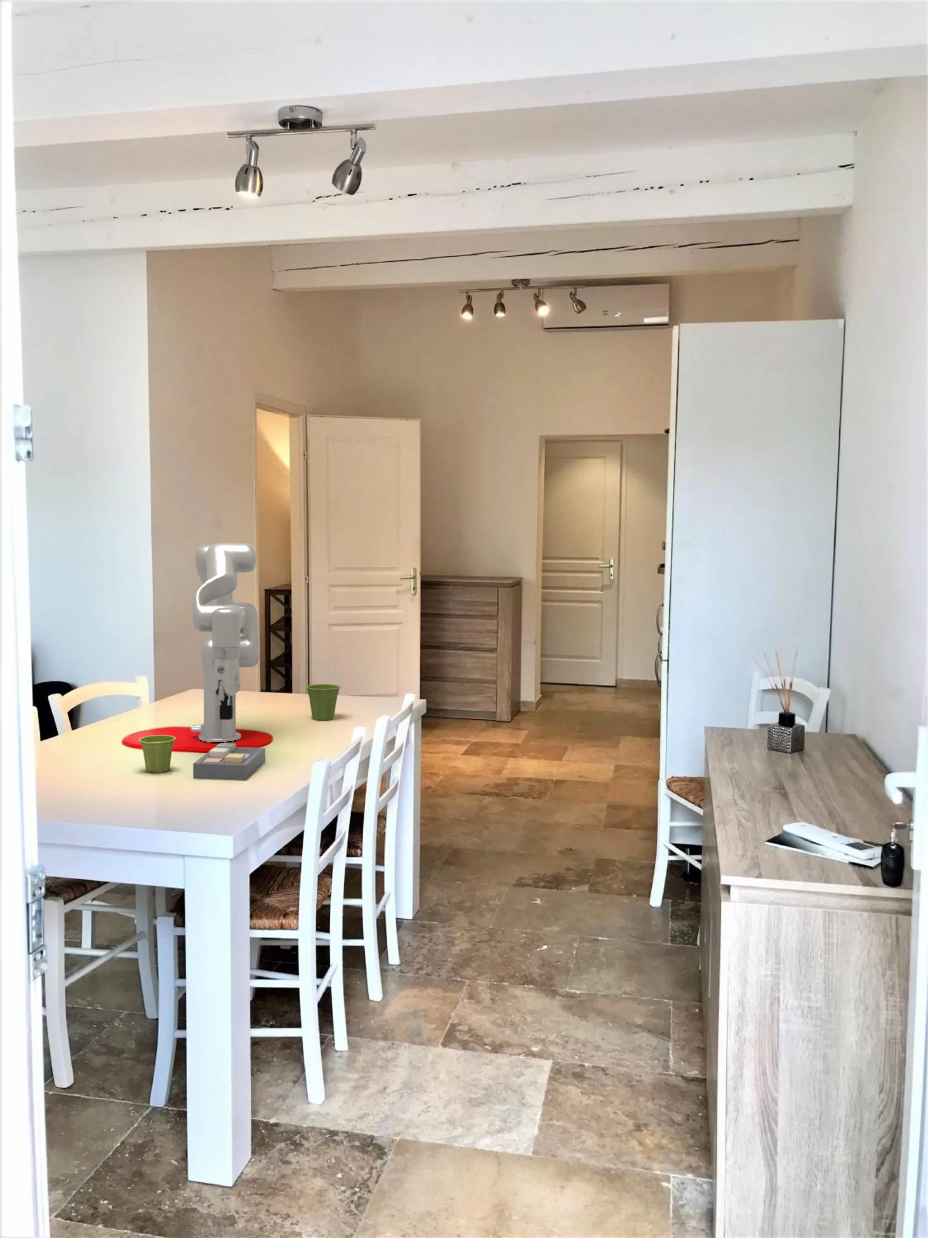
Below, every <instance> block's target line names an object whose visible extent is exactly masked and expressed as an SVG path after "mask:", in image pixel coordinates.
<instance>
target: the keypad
mask: <svg viewBox="0 0 928 1238" xmlns="http://www.w3.org/2000/svg"><path fill="white" fill-rule="evenodd" d="M214 748H216V746H215V747H214ZM230 753H231V754H251V756H250V757H249V758H245V761H244V762H243V763H242V764H236V763H225V758H224V757H210V750H209V751H208V752H207V753H205V754H204V755H203V756H201V757H200V758H198V759H197V760H195V761H194V762H193V763H192V768H193V769H192V772H193V773H192V778H193V779H196V778H198V779H199V780H225V781H226V780H227V781H229V780H230V781H247V780H248V779H249V778H251V776H252V775H254V773H256V772H257V771H258V768H259V769H260V768H261V767H262V766H263V765H264V764H265V763H266V747H248V746H247V747H245V746H244V747H243V746H242V747H239V746H236V750H235V751H234V752H229V754H230ZM207 758H222V759H223V760H222V761H221V762H220V763H208V762H203V761H204V760H205V759H207Z"/></svg>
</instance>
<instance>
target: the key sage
mask: <svg viewBox="0 0 928 1238" xmlns="http://www.w3.org/2000/svg"><path fill="white" fill-rule="evenodd" d="M215 747H216V748H229V752H234V751H235V750H236V747H237V746H236V742H234V743H233V742H224V743H219V744H217V745H215Z"/></svg>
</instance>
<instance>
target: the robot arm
mask: <svg viewBox="0 0 928 1238" xmlns="http://www.w3.org/2000/svg"><path fill="white" fill-rule="evenodd" d="M255 550H256V549H255V547H254V546H253V545H252V544H250V543H247V542H245V543H243V542H240V543H239V542H217V543H214V544H206V545H201V546H199V547H198V548H197V549H196V550H195V552H194V553H195V554H194V558H195V559H194V561H195V566H196V567H195V568H196V572H197V575H198V577H199V580H200V582H201V584H200V586H199V587H198V588H197V590H196V591H195V593H194V595H193V597H192V602H191V603H192V604H191V606H192V608H191V609H192V622H193V623H192V624H193V627H194V628H195V629H196V630H197V631H199V632H204V633H207V632H208V633H211V637H207V638H206V639H204V640H203V641H202V643H201V644H200V656H201V657H200V658H201V663H202V671H203V673H202V675H203V676H202V677H203V723H202V724H190V731H191V732H193V733H200V734H199V735H198V740H199V739H200V740H202V741H201V742H204V741H206V742H205V743H211V742H224V743H228V742H227V741H232V742H235V741H234V740H236V741H238V739H239V740H240V739H241V738H242V734H241V733H240V732H237V729H236V726H237V725H236V724H237V721H236V719H237V718H236V716H237V714H236V713H237V712H236V711H237V710H236V708H237V706H236V702H237V701H236V700H237V699H236V698H237V697H236V696H237V693H238V692H240V691H241V673H240V671H241V669H240V668H253V667H256V666H257V665H258V663H259V661H260V637H259V636H260V635H259V632H260V631H259V617H258V615H259V614H258V611H257V609H256V606H255V605H254V604H252V603H250V602H234V599H233V592H234V591H235V590H236V588H237V585H238V576H237V573H251V572H254V570H255V568H256V566H257V565H256V564H257V554H256V551H255ZM241 635H242V636H241ZM200 740H199V741H200Z"/></svg>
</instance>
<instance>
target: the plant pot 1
mask: <svg viewBox="0 0 928 1238" xmlns="http://www.w3.org/2000/svg"><path fill="white" fill-rule="evenodd" d="M138 741H139V743H140V745H141V748H142V753H143V759H144V766H145V770H146V772H148V773H150V772H152V773H154V774H155V773H156V774H158V773H164V772H166V771H169V770H170V769H171V761H172V754H173V753H172V752H173V746H174V745H175V741H176V737H175V736H174V735H167V734H156V735H147V736H143V737H140V738H139V739H138Z"/></svg>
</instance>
